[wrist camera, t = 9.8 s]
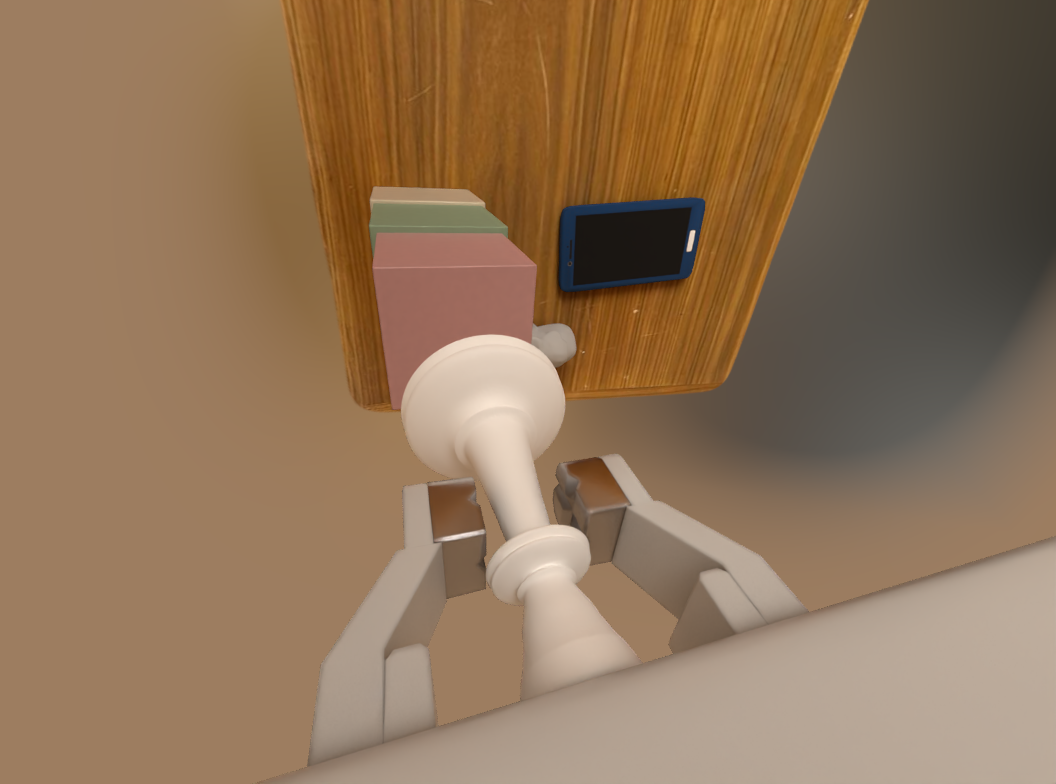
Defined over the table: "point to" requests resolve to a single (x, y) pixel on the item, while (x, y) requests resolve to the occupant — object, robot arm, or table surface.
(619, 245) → the cell phone
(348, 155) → the table surface
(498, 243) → the block stack
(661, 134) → the table surface
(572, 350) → the figurine
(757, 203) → the table surface
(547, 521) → the chess piece
